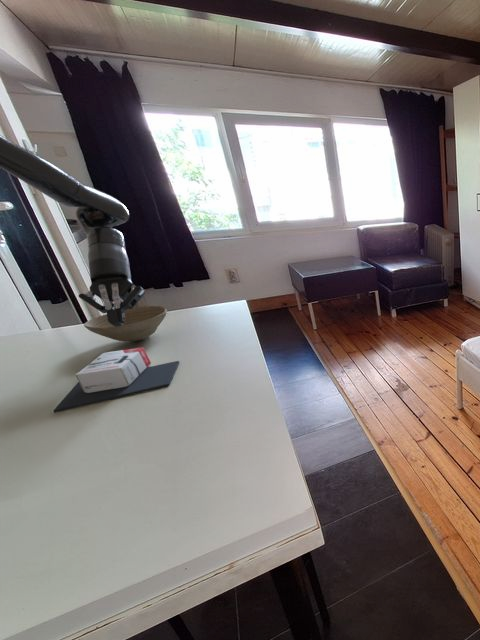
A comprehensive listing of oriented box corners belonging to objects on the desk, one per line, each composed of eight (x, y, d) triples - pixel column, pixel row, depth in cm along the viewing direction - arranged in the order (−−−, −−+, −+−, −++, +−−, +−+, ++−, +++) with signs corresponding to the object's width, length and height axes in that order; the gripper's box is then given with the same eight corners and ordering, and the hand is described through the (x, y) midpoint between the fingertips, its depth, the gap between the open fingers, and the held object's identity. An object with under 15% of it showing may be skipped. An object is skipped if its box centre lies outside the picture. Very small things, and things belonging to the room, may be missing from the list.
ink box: (143, 346, 91) (120, 368, 81) (151, 363, 93) (130, 386, 83) (101, 352, 89) (72, 375, 79) (111, 369, 91) (84, 394, 81)
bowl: (178, 322, 120) (168, 300, 117) (173, 342, 106) (161, 317, 103) (105, 337, 112) (92, 313, 108) (90, 360, 98) (74, 333, 94)
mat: (54, 412, 76) (52, 410, 76) (79, 384, 87) (78, 381, 86) (169, 385, 84) (168, 383, 84) (179, 362, 94) (178, 360, 94)
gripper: (65, 260, 88) (71, 324, 84) (133, 253, 93) (142, 312, 89) (85, 277, 95) (92, 336, 91) (148, 269, 100) (157, 325, 96)
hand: (117, 324), depth 90 cm, fingers closed
